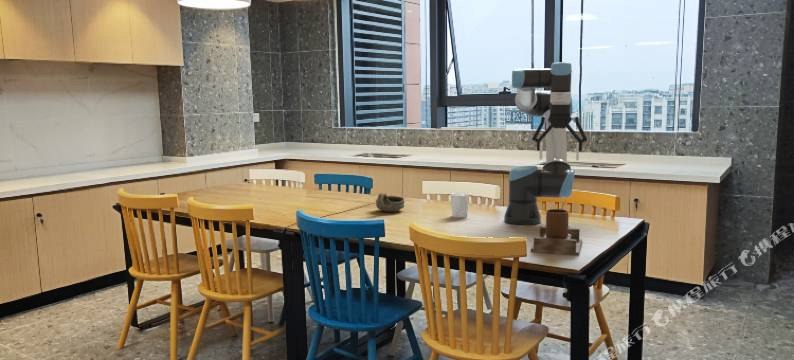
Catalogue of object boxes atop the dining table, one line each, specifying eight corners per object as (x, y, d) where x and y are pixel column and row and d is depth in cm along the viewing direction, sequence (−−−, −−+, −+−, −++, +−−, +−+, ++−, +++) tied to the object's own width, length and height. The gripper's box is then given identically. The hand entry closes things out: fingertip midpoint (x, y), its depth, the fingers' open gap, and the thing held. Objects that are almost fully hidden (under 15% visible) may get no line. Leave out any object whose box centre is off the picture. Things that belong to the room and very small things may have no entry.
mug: (551, 231, 231) (552, 206, 230) (572, 233, 228) (573, 207, 227) (543, 238, 221) (543, 212, 220) (565, 240, 217) (565, 213, 216)
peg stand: (530, 251, 219) (531, 237, 218) (537, 239, 237) (537, 226, 236) (578, 255, 214) (579, 240, 213) (582, 242, 231) (582, 228, 231)
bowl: (410, 209, 297) (410, 188, 296) (392, 216, 282) (392, 194, 280) (384, 207, 303) (384, 187, 302) (366, 214, 288) (365, 192, 287)
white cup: (448, 217, 278) (448, 195, 277) (453, 214, 286) (453, 192, 284) (465, 218, 275) (465, 196, 274) (470, 215, 283) (470, 193, 281)
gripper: (525, 104, 240) (524, 159, 243) (594, 103, 231) (592, 161, 235) (528, 103, 247) (527, 157, 250) (595, 103, 238) (593, 159, 242)
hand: (558, 159), depth 242 cm, fingers open, 13 cm apart
